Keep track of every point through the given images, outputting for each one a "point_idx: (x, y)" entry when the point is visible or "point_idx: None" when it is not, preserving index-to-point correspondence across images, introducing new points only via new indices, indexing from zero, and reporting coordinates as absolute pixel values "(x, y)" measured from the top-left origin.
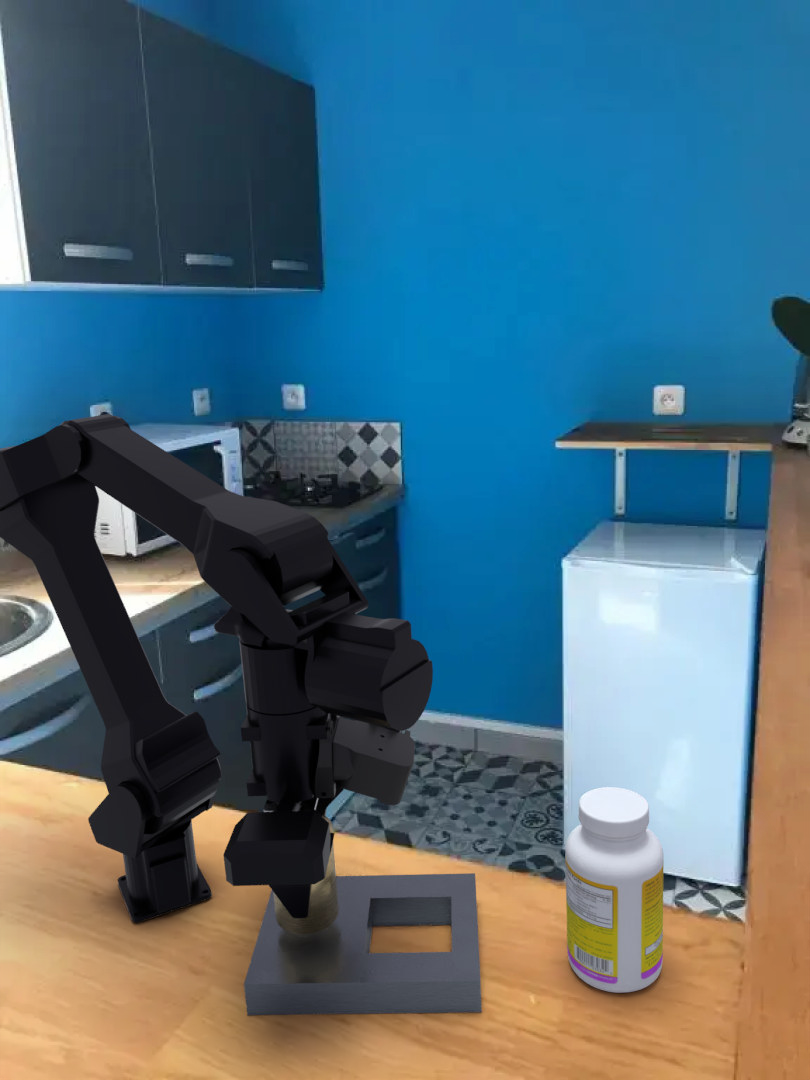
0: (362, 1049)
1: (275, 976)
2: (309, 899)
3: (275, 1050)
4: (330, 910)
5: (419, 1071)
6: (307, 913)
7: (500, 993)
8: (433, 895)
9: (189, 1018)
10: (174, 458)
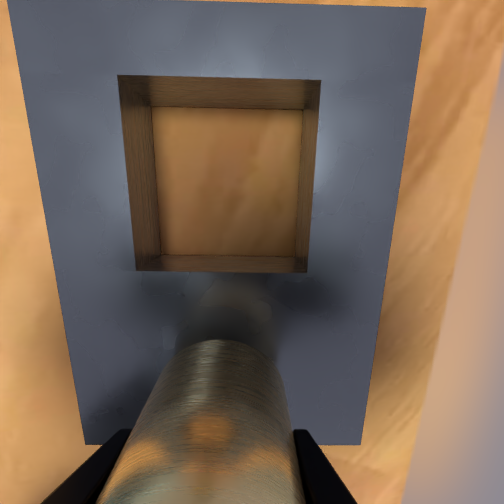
0: (421, 252)
1: (349, 406)
2: (344, 491)
3: (402, 358)
4: (256, 372)
5: (477, 169)
6: (314, 440)
7: None
8: (116, 124)
9: (335, 454)
10: None
